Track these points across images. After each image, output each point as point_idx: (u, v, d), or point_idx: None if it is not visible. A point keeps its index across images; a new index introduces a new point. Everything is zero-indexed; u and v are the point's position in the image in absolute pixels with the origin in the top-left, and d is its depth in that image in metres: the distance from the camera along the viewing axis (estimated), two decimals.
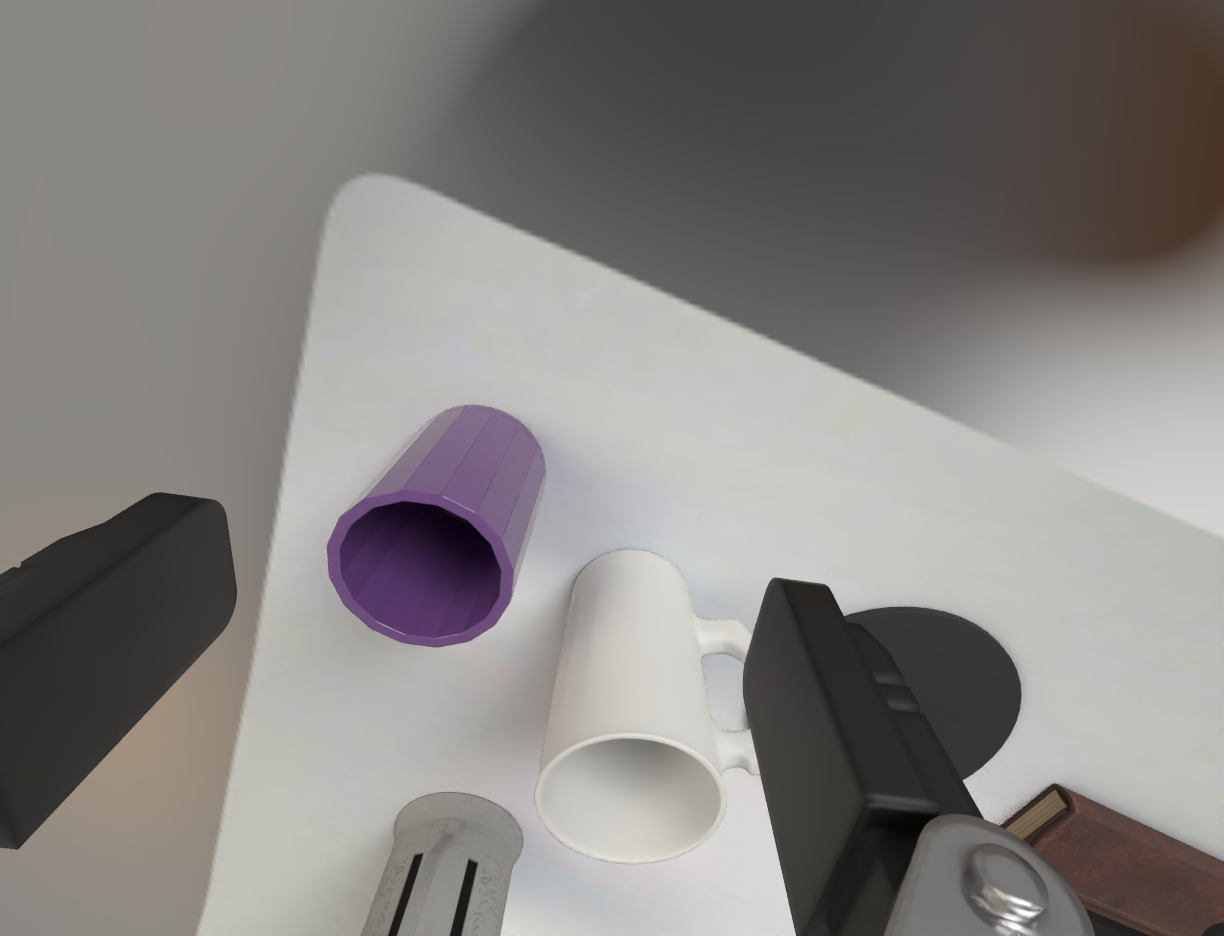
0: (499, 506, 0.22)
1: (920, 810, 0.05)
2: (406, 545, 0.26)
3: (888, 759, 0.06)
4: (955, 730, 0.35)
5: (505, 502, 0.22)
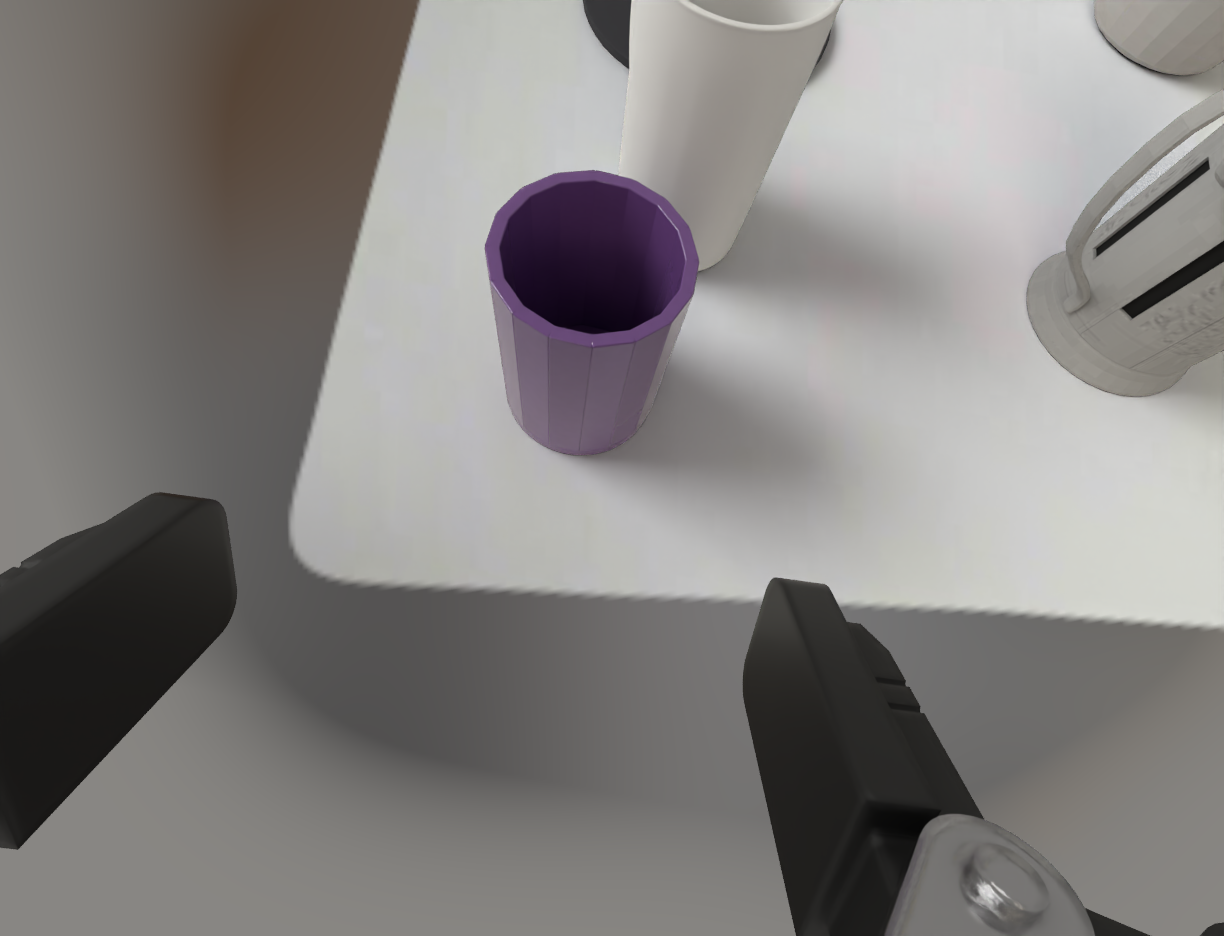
0: None
1: (920, 810, 0.05)
2: None
3: (888, 759, 0.06)
4: None
5: None
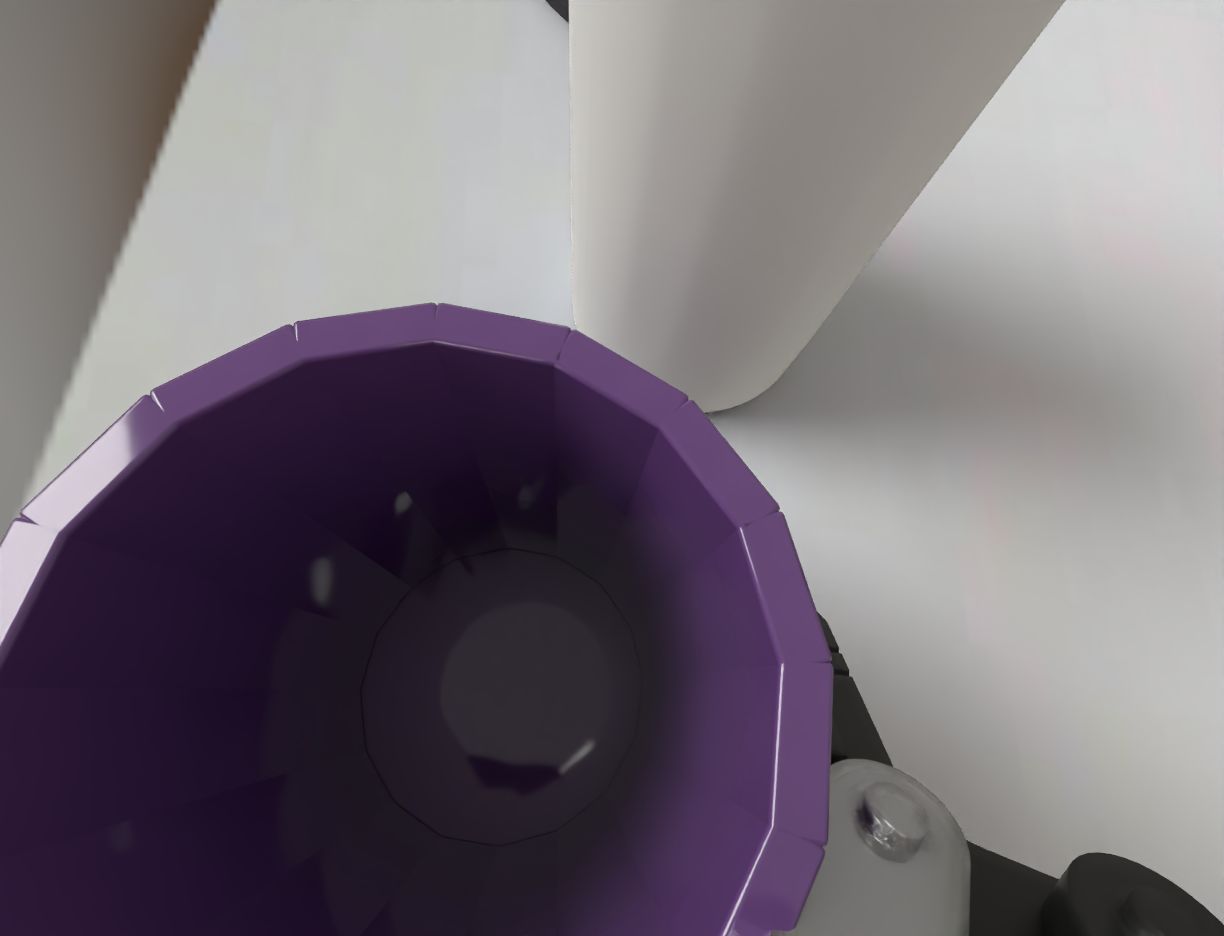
0: None
1: None
2: (644, 800, 0.08)
3: None
4: None
5: None
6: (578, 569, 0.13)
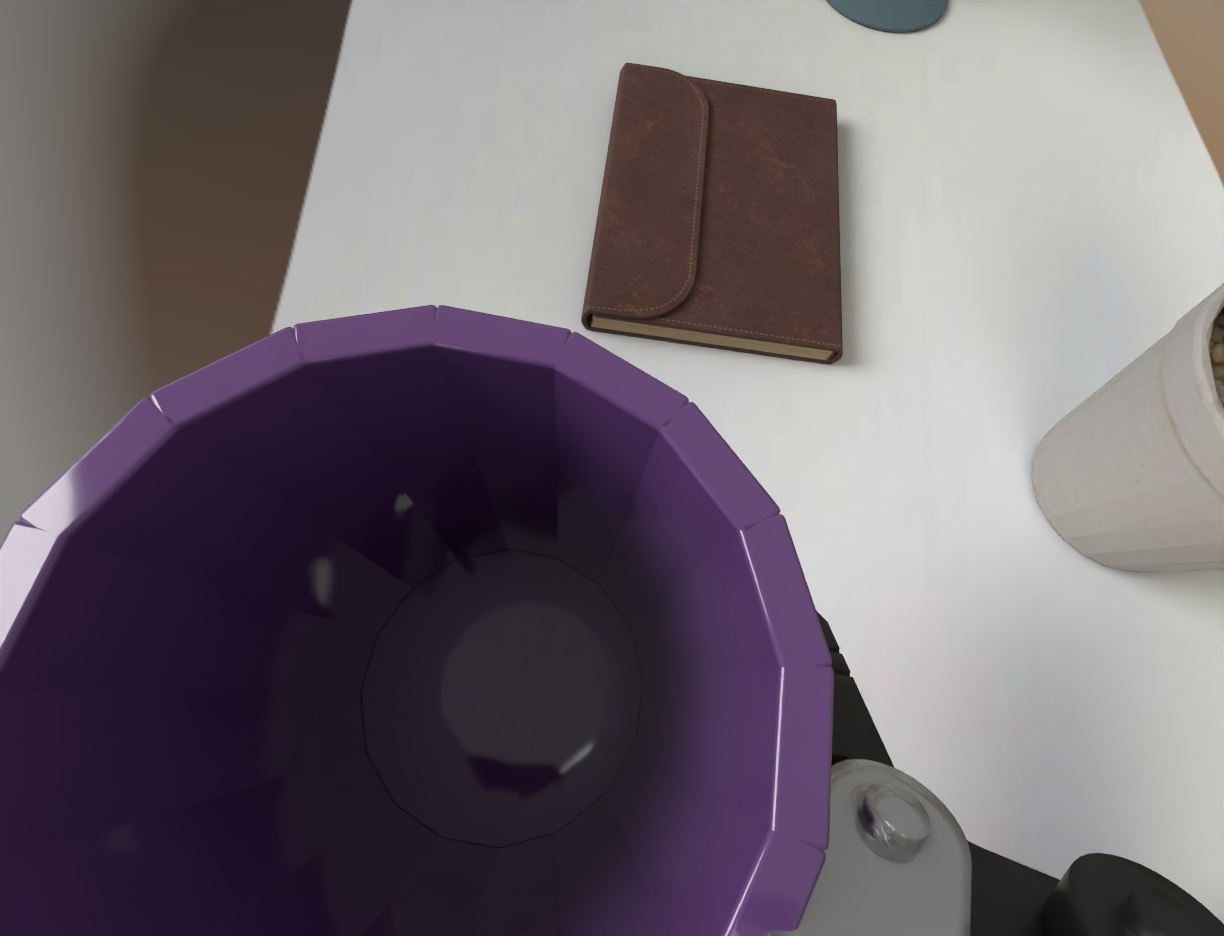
0: None
1: None
2: (645, 802, 0.08)
3: None
4: None
5: None
6: (578, 570, 0.13)
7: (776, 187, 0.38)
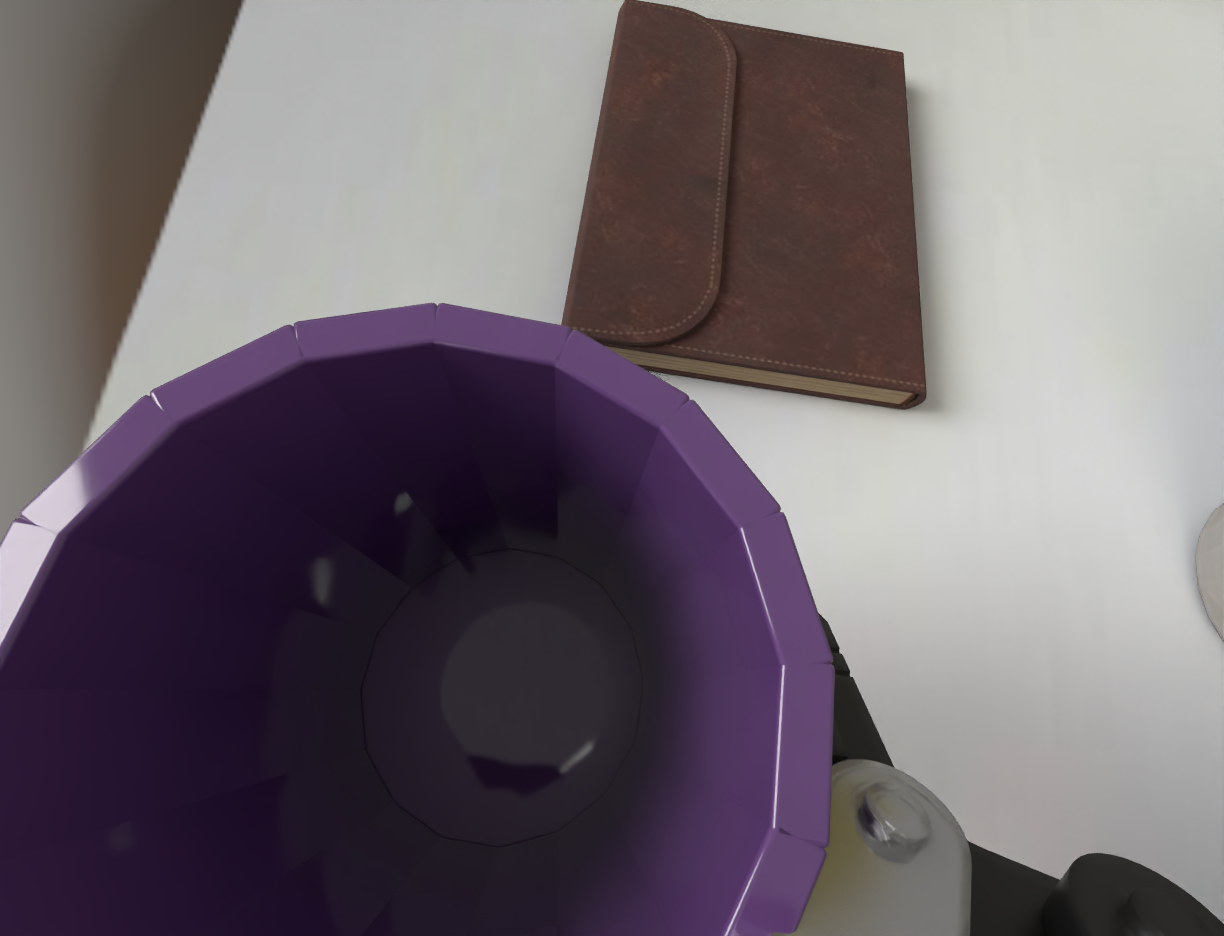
0: None
1: None
2: (645, 801, 0.08)
3: None
4: None
5: None
6: (578, 569, 0.13)
7: (828, 164, 0.28)
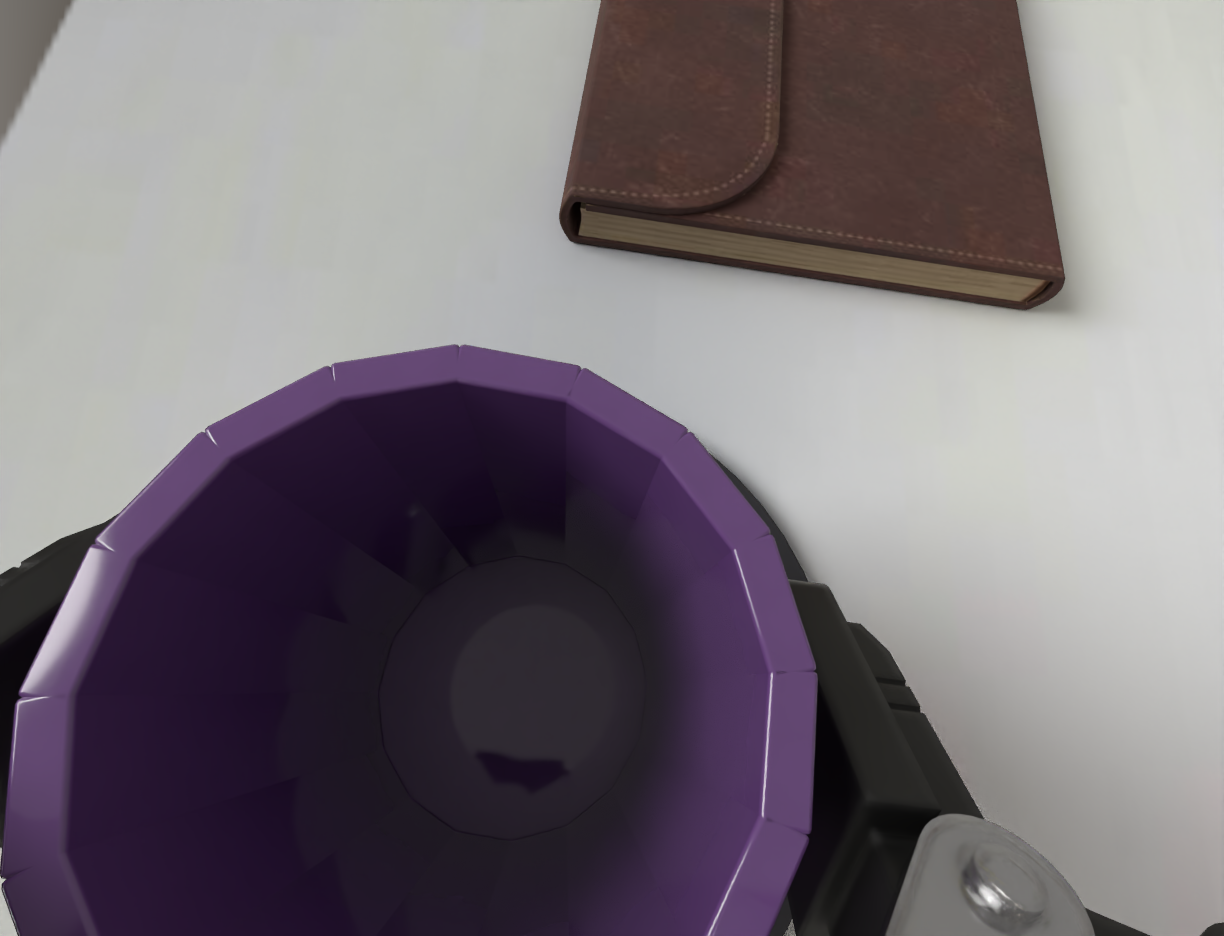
0: None
1: (920, 810, 0.05)
2: (649, 796, 0.09)
3: (888, 759, 0.06)
4: None
5: None
6: (585, 576, 0.14)
7: (911, 1, 0.21)
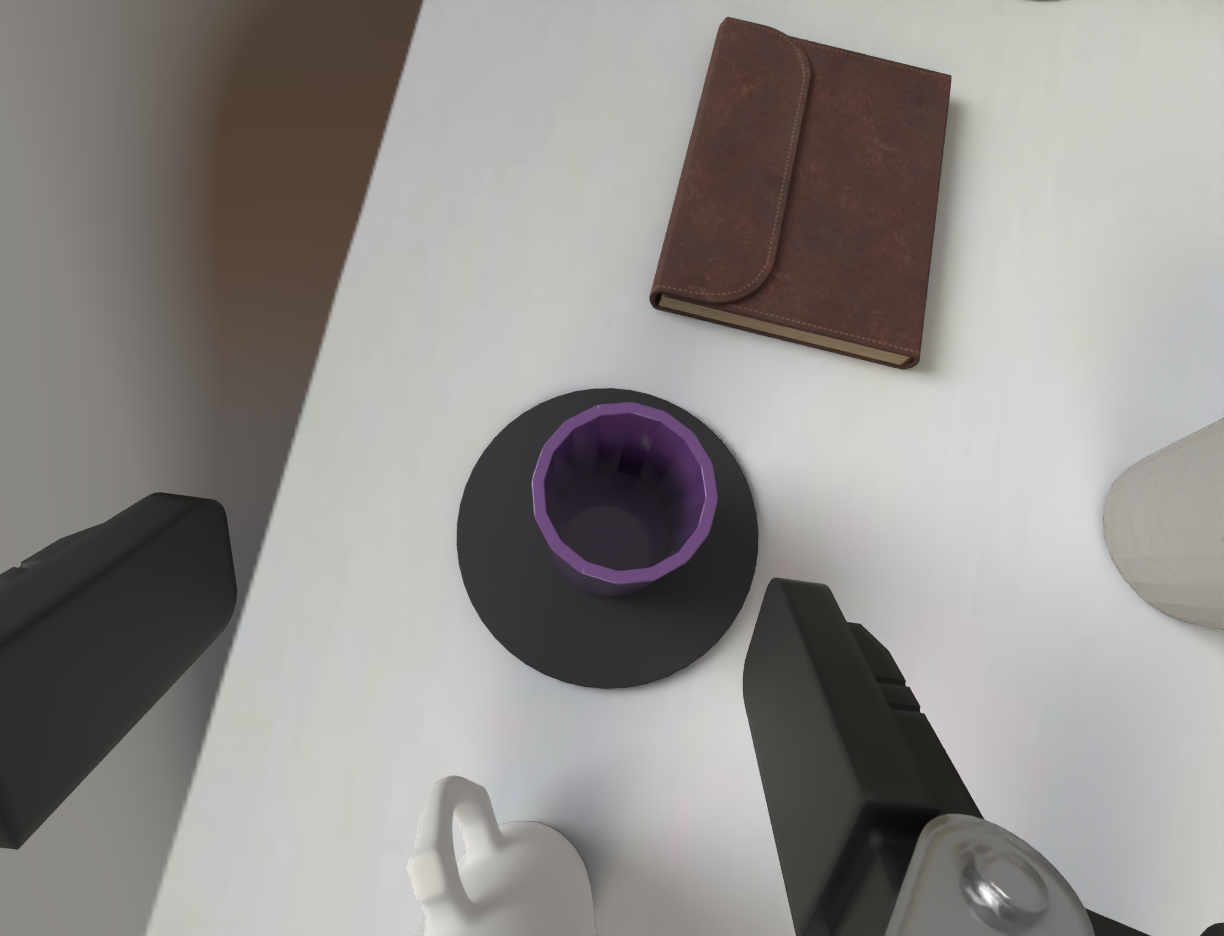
0: None
1: (920, 810, 0.05)
2: (668, 555, 0.25)
3: (888, 759, 0.06)
4: None
5: None
6: (647, 484, 0.30)
7: (872, 171, 0.35)
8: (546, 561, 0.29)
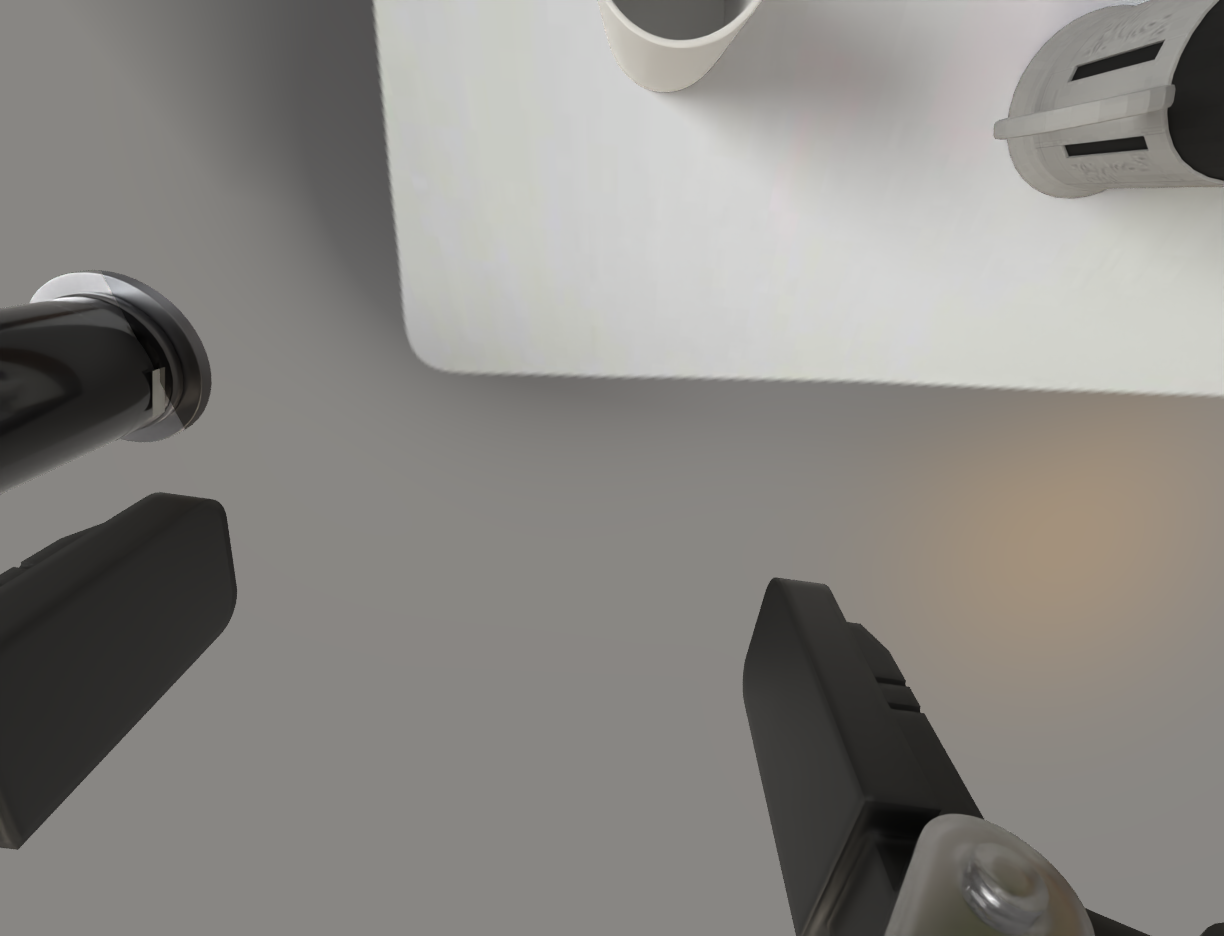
0: None
1: (920, 810, 0.05)
2: None
3: (888, 759, 0.06)
4: None
5: None
6: None
7: None
8: None
